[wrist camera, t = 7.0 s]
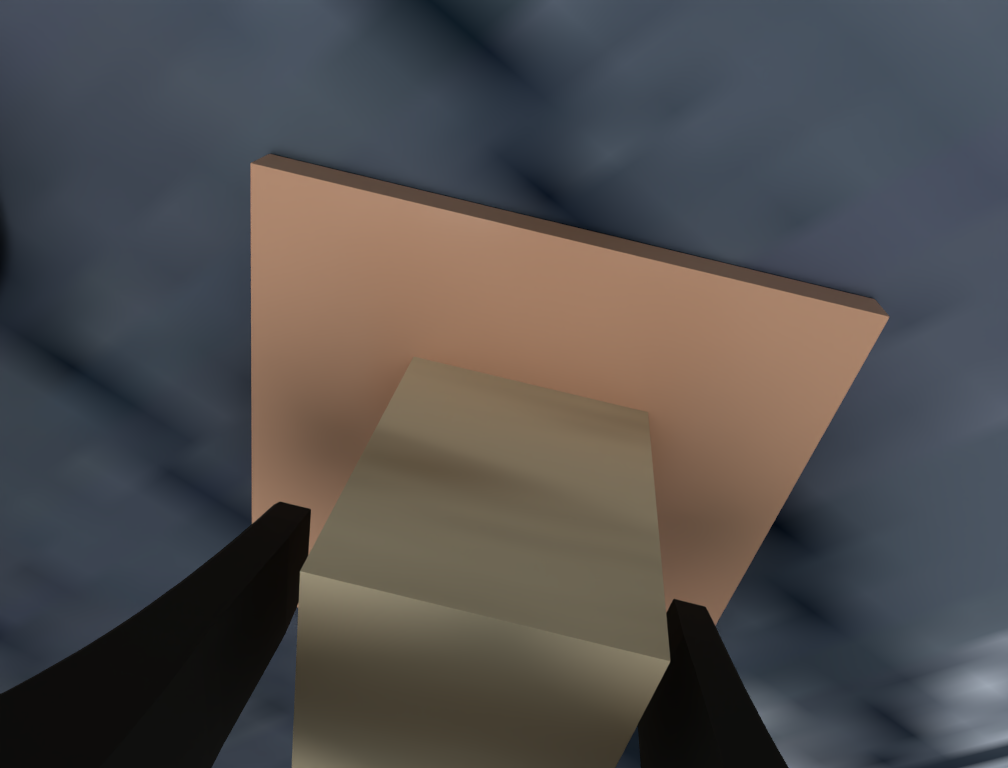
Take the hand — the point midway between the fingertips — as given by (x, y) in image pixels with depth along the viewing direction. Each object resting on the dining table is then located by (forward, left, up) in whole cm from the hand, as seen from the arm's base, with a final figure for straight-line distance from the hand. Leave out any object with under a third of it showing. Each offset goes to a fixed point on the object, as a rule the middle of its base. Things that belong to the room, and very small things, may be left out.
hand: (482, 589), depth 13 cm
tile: (0, 0, -4) cm, 4 cm away
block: (0, 0, -3) cm, 3 cm away
